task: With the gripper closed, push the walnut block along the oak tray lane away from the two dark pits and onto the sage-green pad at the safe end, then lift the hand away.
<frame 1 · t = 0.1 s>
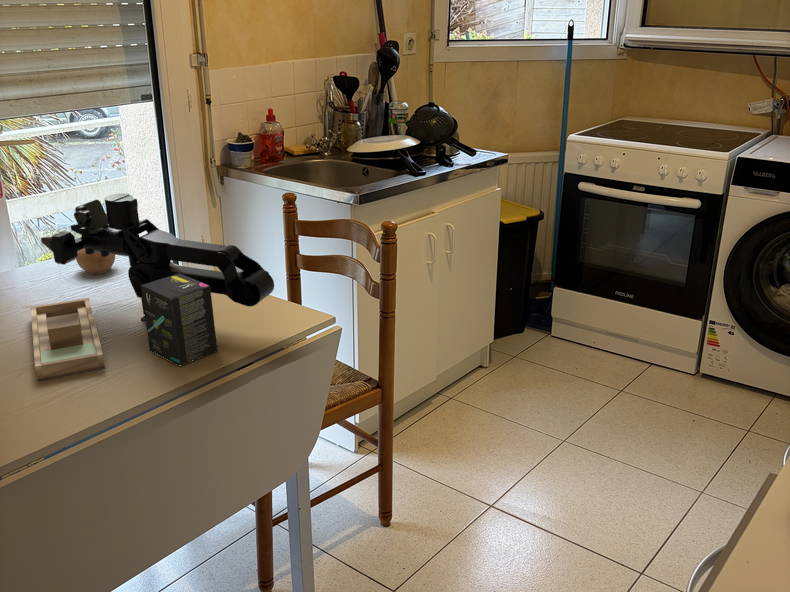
hand: (56, 233, 174), 17 cm above the table, tool horizontal, fingers open, 9 cm apart
tampon box: (183, 352, 158), on the table
sage pad: (70, 362, 153), resting on oak tray
onion: (98, 272, 198), on the table
oak tray: (66, 342, 161), on the table
walnut block: (66, 341, 158), point 2 cm above the table, touching oak tray
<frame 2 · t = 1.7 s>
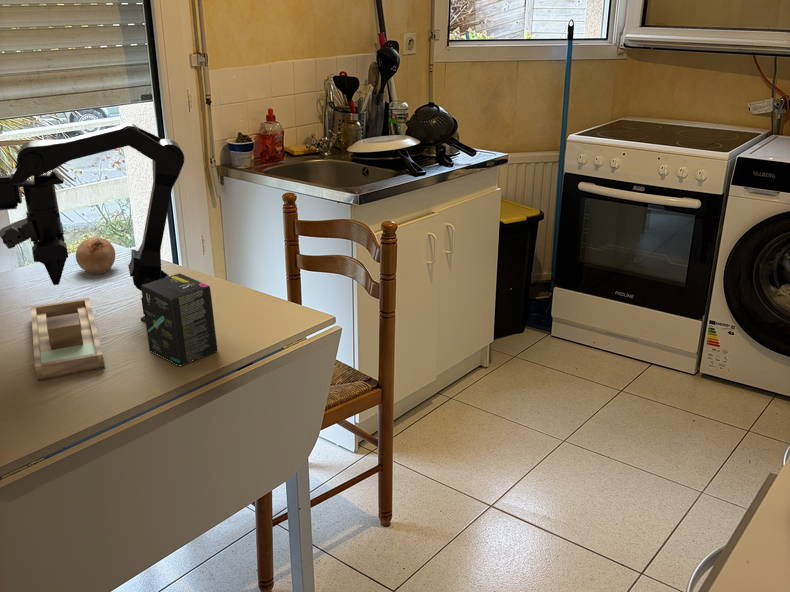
hand: (55, 279, 161), 12 cm above the table, tool pointing down, fingers open, 6 cm apart
nothing on the table moved.
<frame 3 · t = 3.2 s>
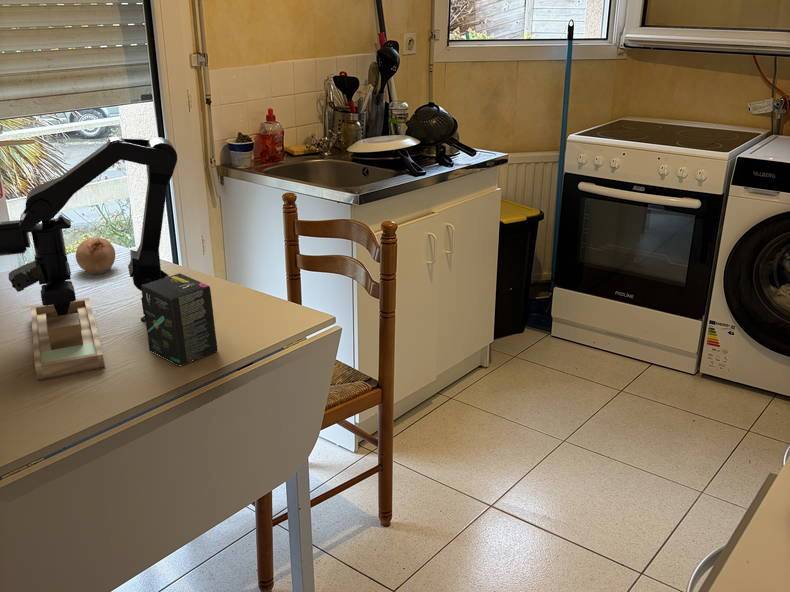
hand: (63, 319, 165), 3 cm above the table, tool pointing down, fingers closed
nothing on the table moved.
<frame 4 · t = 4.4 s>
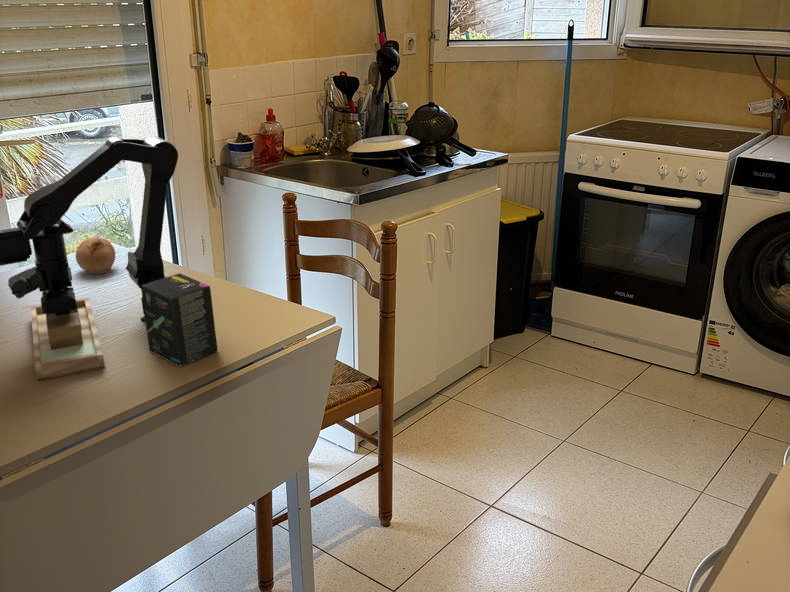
hand: (63, 325, 161), 3 cm above the table, tool pointing down, fingers closed
walnut block: (66, 340, 158), point 2 cm above the table, touching gripper, oak tray, sage pad
everything else where it was.
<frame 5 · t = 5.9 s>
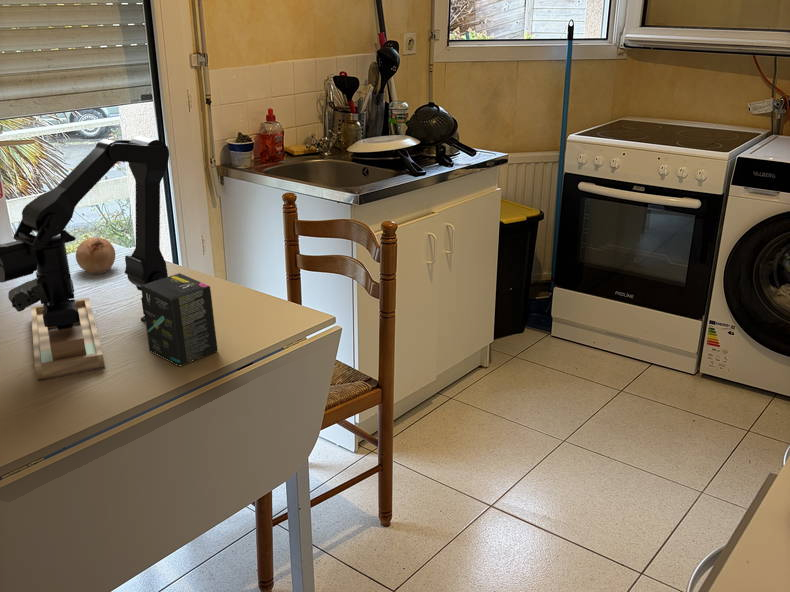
hand: (65, 339, 156), 3 cm above the table, tool pointing down, fingers closed
walnut block: (69, 355, 152), point 2 cm above the table, touching gripper, sage pad
everything else where it was.
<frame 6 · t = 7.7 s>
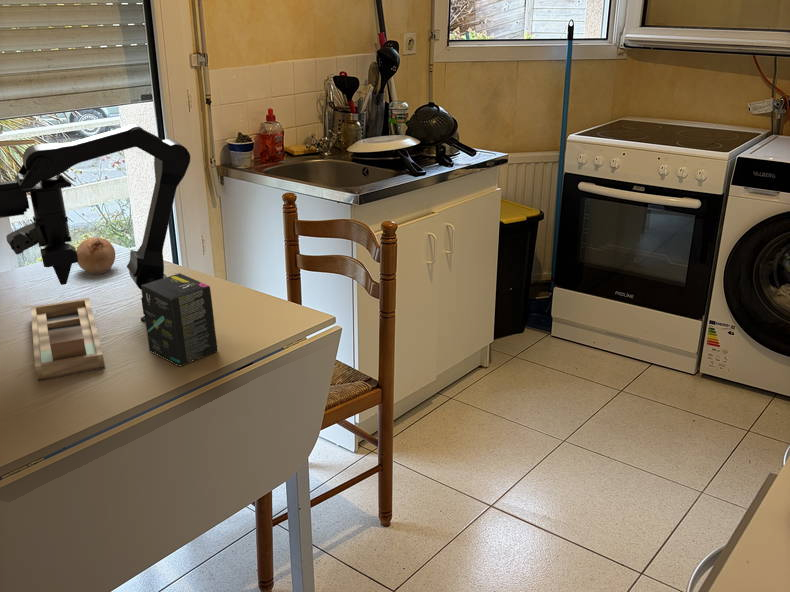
hand: (63, 284, 159), 12 cm above the table, tool pointing down, fingers closed
walnut block: (69, 355, 152), point 2 cm above the table, touching sage pad
everything else where it was.
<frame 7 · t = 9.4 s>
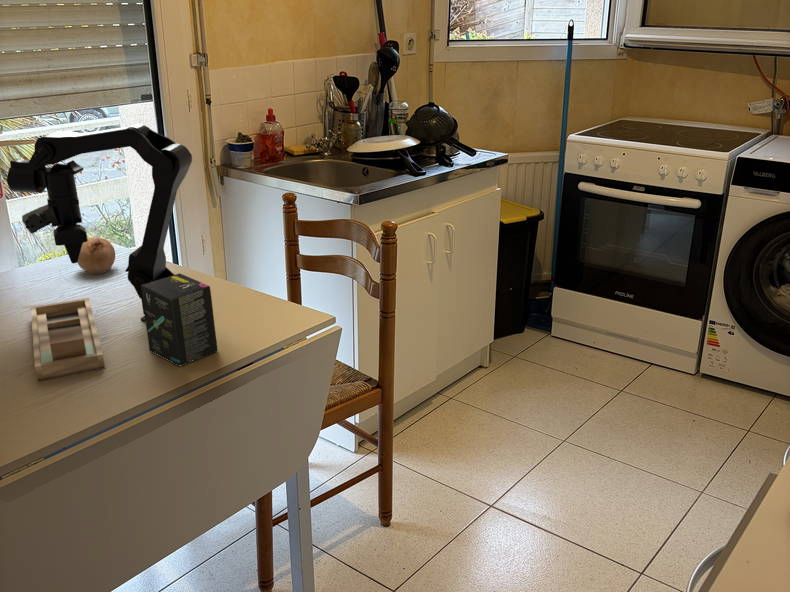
hand: (74, 262, 170), 12 cm above the table, tool pointing down, fingers closed
nothing on the table moved.
at the end: walnut block 0.2 cm from the sage pad (horizontally); walnut block point 1.6 cm above the table; walnut block tilted 0° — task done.
